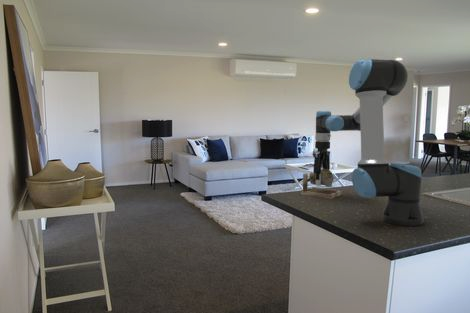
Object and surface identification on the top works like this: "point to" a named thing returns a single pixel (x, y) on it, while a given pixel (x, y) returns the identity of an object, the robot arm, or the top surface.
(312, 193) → the wooden tray
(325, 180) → the rock
